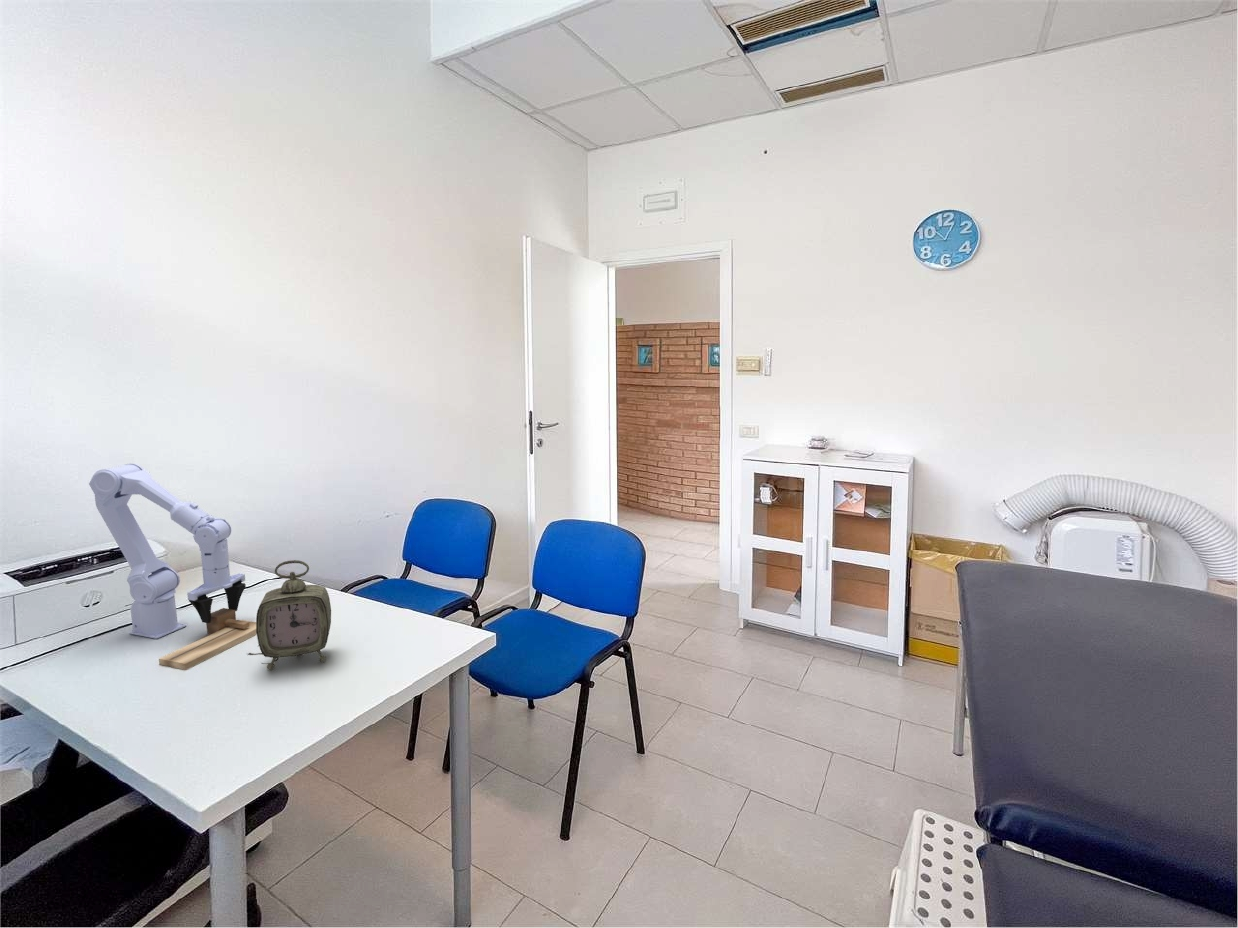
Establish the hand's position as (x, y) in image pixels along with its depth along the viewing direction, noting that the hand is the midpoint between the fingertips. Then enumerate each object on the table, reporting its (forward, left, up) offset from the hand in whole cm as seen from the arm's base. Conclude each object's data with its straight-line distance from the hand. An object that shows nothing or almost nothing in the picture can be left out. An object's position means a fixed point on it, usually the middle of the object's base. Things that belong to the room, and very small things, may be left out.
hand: (220, 616), depth 151 cm
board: (+7, -7, -4) cm, 10 cm away
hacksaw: (+21, +1, -5) cm, 21 cm away
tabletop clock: (+32, -7, -4) cm, 33 cm away
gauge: (+3, 0, -4) cm, 5 cm away
